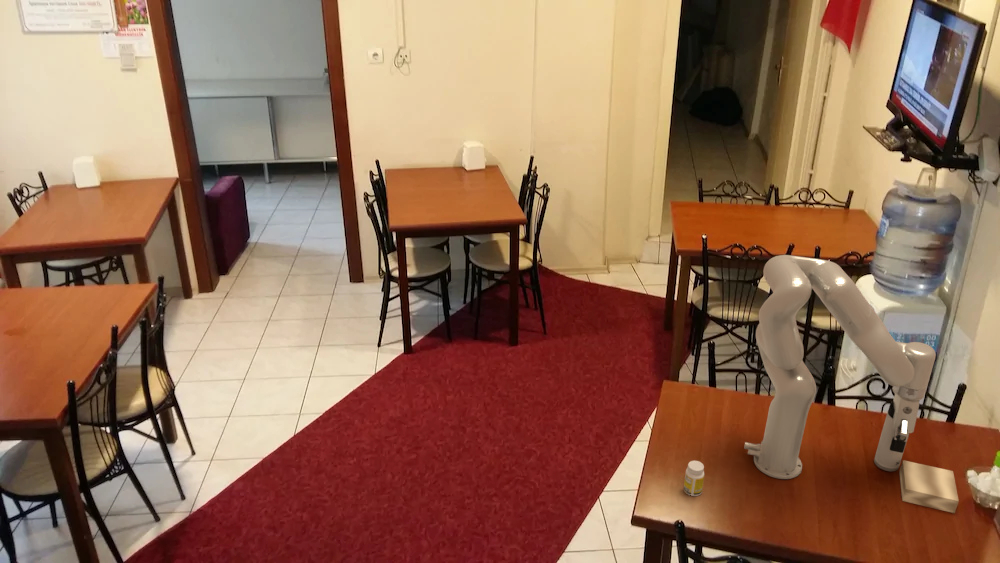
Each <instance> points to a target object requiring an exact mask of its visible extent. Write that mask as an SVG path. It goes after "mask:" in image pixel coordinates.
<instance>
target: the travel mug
mask: <svg viewBox="0 0 1000 563" xmlns="http://www.w3.org/2000/svg"><path fill="white" fill-rule="evenodd" d="M893 403H894V401H892V402H890V404H889V406H888V410H887V413H886V417H885V419H884V424H883V426H882V430H881V434H880V438H879V441H878V445H877V449H876V450H875V451H876V452H875V455H874V458H873V462H874V464H875V466H876V467H878V468H879V469H880V470H883V471H886V472H896V471H899V470H898V469H900V467H901V463H902V460H903V454H904V451H905V448H906V446H907V442H908V439H909V437H910V436H909V435H910V433H909V432H908V431H907V439H906V444H905V448H904V451H903V453H900V452H895V451H891V450H890V445H891V442H892V438H893V437H894V434H895V430H894V428H893V416H894V411H895V410H894V407H893V405H894V404H893ZM898 428H901V426H898ZM900 433H901V431H898V434H897V435H900Z"/></svg>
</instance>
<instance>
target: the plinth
mask: <svg viewBox="0 0 1000 563" xmlns="http://www.w3.org/2000/svg"><path fill="white" fill-rule="evenodd" d="M898 471H899V481H900V489H901V490H900V492H901V500H902V502H905V503H909V504H915V505H918V506H923V507H926V508H931V509H935V510H940V511H944V512H948V513H952V514H955V513H956V511H957V507H958V505H959V502H960V501H959V500H960V499H959V495H958V490H957V489H958V488H957V485H956V479H955V475H954V471H953V470H950V469H945V468H940V467H936V466H932V465H931V466H930V465H928V464H927V465H926V464H923V463H917V462H913V461H909V460H905V459H904V460H903V459H902V460H901V464H900V467H899V470H898Z"/></svg>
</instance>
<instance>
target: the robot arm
mask: <svg viewBox="0 0 1000 563" xmlns="http://www.w3.org/2000/svg"><path fill="white" fill-rule="evenodd" d="M762 272H763V273H762V274H763V277H764V280H765V282H766V283H767V285H768V286H769V288H770V289H771V291H772V294H770V295H769V297H768V298H767V299H766V300H765V301H764V302H763V304H762V305H761V306H760V309H759V311H758V321H759V323H758V324H757V326H756V329H755V339H756V343H757V347H758V351H759V354H760V357H761V361H762V362H763V363H762V364H763V366H764V369H765V371H766V374H767V375H768V377H769V379H770V381H771V383H772V385H773V387H774V390H775V395H774V397H773V399H772V400H771V402H770V405H769V408H768V414H767V419H766V424H765V429H764V434H763V439H762V440H761V441H760V443H752V442H747V441H744V446H743V447H744V450H748V451H747V455H751V456H753V463H754V465H755V466H756V468H757V469H758V470H759V471H760V472H762V473H763V474H765V475H767V476H769V477H771V478H775V479H778V480H779V479H780V480H790V479H793V478H796V477H798V476H799V475H800V474H801V473H802V469H803V462H802V461H801V459H800V457H799V455H800V449H801V445H802V440H803V437H804V436H803V435H804V433H805V432H804V431H805V427H806V424H807V420H808V414H809V411H810V408H811V406H812V403H813V401H814V399H815V396H816V394H817V385H816V381H815V379H814V377H813V375H812V373H811V372H810V370H809V368H808V367H807V365H806V364H805V362H804V361H803V358H804V352H805V351H804V344H803V341H802V339H801V336H800V333H799V332H800V331H799V329H798V328H799V327H798V325H797V320H796V317H797V313H798V312H799V311H800V310H801V309H802V307H804V306H805V305H806V303H807V302H809V299H810V298H811V295H812V290H813V291H814V293H815V294H816V296H817V297H818V298H819V299H820V301H821V302H822V303H823V305H824V306H825V307H826V309H827V310H828V312H829V313H830V315H832V316H833V318H834V319H835V321H836V322H837V323H838V325H840V327H841V329H842V330H843V331H844V333H845V334H846V335H847V336H848V338H849V339H850V340H851V342H853V343H854V345H855V346H856V347H857V348H858V349H859V350H860V352H862V353H863V355H864V356H865V357H866V358H867V360H868V361H869V363H870V364H871V366H872V368H874V369H875V370H876V371H877V373H878V374H879V375H880V377H881V378H882V380H883V381H884V382H885V383H886V384H888V385H890V386H892V392H893V393H894V395H893V396H894V397H893V401H894V403H893V404H894V405H893V407H894V410H895V411H894V416H893V428H894V430H895V434H894V437H893V438H892V442H891V445H890V450H891V451H895V452H900V453H903V454H904V452H903V451H905V449H904V448H906V446H905V444H906V445H907V442H906V439H907V431H908V432H909V434H912V433H914V432H915V427H916V422H917V418H918V412H919V407H920V402H921V400H923V399H924V398H925V395H926V392H927V389H928V386H929V382H930V379H931V375H932V371H933V367H934V364H935V360H936V356H937V354H936V350H935V349H934V348H933V347H932V346H931V345H929V344H927V343H923V342H919V341H913V342H912V341H910V342H902V341H896V340H895V339H894V337H893V336H892V335H891V333H890V332H889V330H888V328H887V327H886V325H885V323H883V320H881V318H880V317H879V315H878V313H877V312H876V311H875V309H873V307H872V305H871V304H870V303H869V301H868V300H867V298H866V297H865V296H864V295H863V292H862V291H860V289H859V288H858V286H857V285H856V283H855V282H854V280H853V279H852V278H851V277H850V276H849V275H848V274H847V273H846V271H844V270H843V269H842V267H841V266H840V265H839V264H837V263H836V262H834V261H830V260H827V259H820V258H812V257H807V256H806V257H805V256H799V255H790V254H783V255H776V256H773V257H772V258H769V260H768V261H767V262H766V263H765V264H764V266H763V271H762ZM893 401H892V402H893ZM898 426H901V428H898ZM898 431H901V433H900V435H897V434H898ZM907 440H908V439H907Z"/></svg>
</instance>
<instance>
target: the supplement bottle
mask: <svg viewBox="0 0 1000 563" xmlns="http://www.w3.org/2000/svg"><path fill="white" fill-rule="evenodd" d="M704 468H705V466H704V464H703V463H702V462H701V461H700V460H690V461H689V462H688V464H687V467H686V469H685V475H684V482H683V483H684V484H683V491H684V493H685V492H686V494H687V495H688V496H690V495H691V496H692V497H698V496H700V495H701V494H702V493H703V487H704V481H705V469H704Z"/></svg>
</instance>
